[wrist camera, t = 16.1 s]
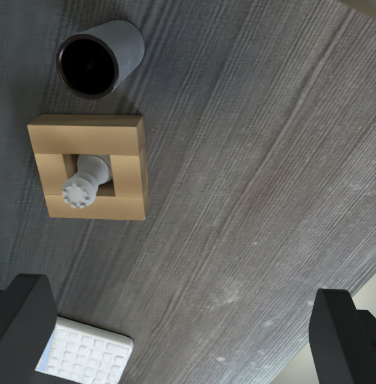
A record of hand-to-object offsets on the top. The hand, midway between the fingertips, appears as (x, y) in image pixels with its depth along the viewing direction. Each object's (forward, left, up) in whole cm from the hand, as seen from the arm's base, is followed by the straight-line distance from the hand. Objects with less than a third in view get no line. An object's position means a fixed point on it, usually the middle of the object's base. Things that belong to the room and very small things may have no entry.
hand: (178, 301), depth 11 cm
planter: (-3, -8, -28) cm, 30 cm away
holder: (+9, -12, -28) cm, 32 cm away
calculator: (+42, -22, -28) cm, 55 cm away
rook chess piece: (+9, -12, -28) cm, 32 cm away
